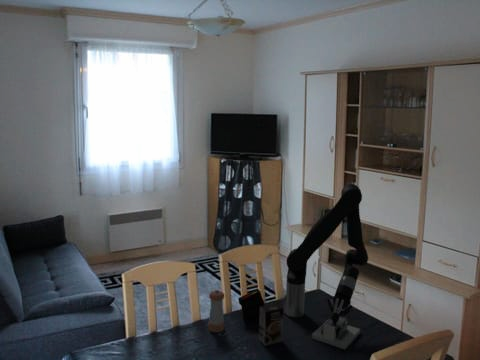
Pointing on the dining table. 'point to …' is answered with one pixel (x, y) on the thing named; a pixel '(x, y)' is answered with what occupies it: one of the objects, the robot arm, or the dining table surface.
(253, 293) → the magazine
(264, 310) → the coffee box
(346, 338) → the grey square stand
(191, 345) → the dining table surface
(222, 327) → the pepper shaker
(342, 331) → the heat sink
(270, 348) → the dining table surface
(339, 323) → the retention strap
